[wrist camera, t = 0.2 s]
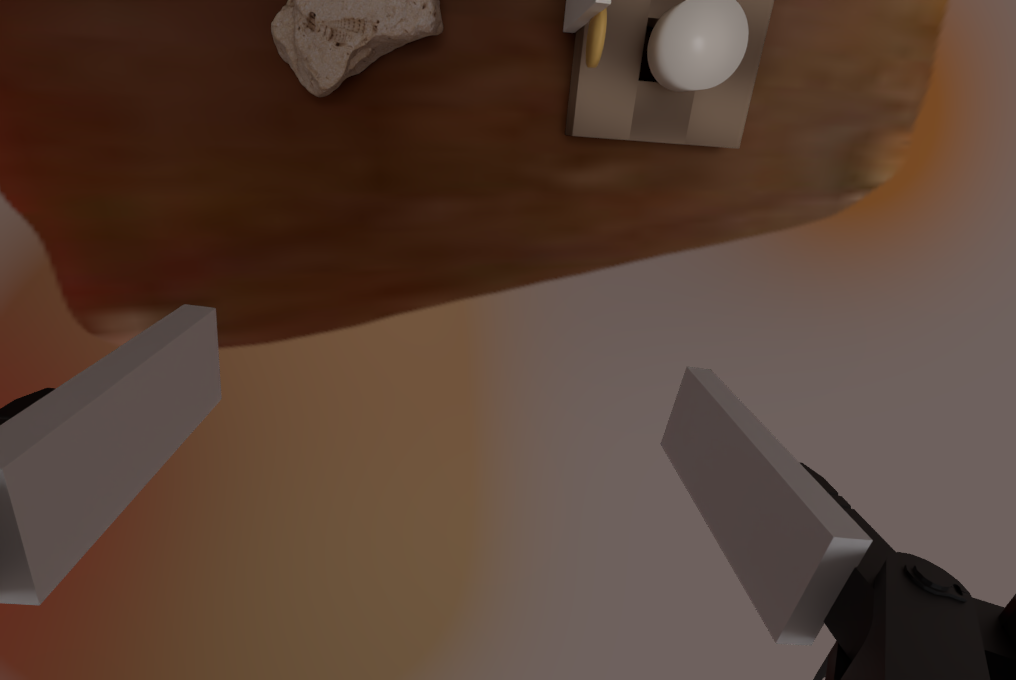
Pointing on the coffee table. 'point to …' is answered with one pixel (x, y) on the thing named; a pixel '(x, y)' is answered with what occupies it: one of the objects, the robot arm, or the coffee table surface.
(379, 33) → the stone
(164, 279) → the coffee table surface
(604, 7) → the card
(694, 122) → the board
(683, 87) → the button
